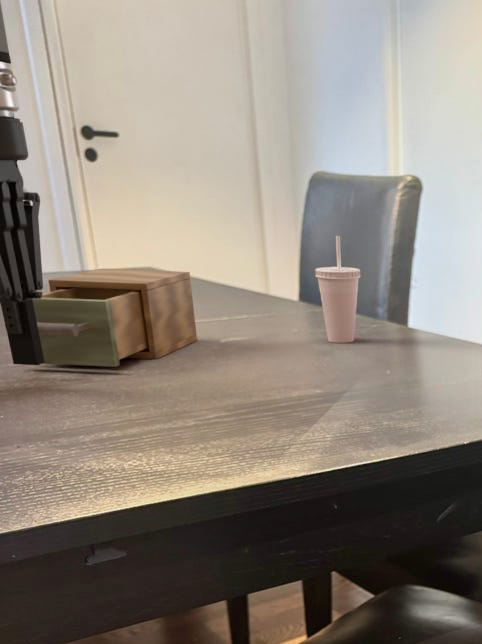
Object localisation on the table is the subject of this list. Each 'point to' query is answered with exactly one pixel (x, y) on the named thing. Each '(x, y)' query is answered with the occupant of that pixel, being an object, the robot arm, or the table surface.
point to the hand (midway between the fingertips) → (29, 363)
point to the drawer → (90, 325)
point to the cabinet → (148, 303)
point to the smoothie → (339, 299)
